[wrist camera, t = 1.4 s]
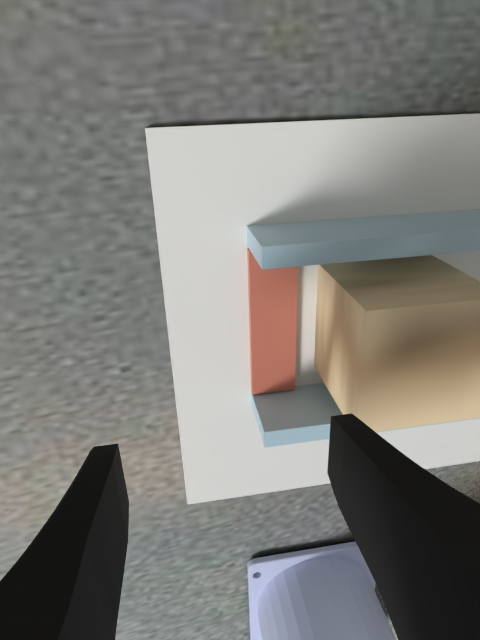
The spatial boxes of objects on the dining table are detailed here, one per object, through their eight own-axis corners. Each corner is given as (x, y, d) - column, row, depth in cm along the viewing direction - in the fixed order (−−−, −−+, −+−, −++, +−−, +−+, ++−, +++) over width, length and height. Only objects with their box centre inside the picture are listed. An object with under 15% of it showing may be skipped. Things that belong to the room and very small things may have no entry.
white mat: (586, 440, 27) (591, 444, 27) (187, 499, 24) (187, 504, 24) (710, 103, 19) (718, 103, 19) (145, 127, 16) (145, 128, 16)
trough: (502, 374, 23) (546, 409, 21) (251, 405, 22) (264, 447, 19) (544, 204, 20) (604, 219, 17) (246, 225, 18) (261, 246, 15)
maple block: (414, 354, 22) (479, 417, 18) (314, 365, 21) (354, 434, 17) (429, 253, 20) (507, 297, 15) (318, 263, 19) (366, 310, 15)
